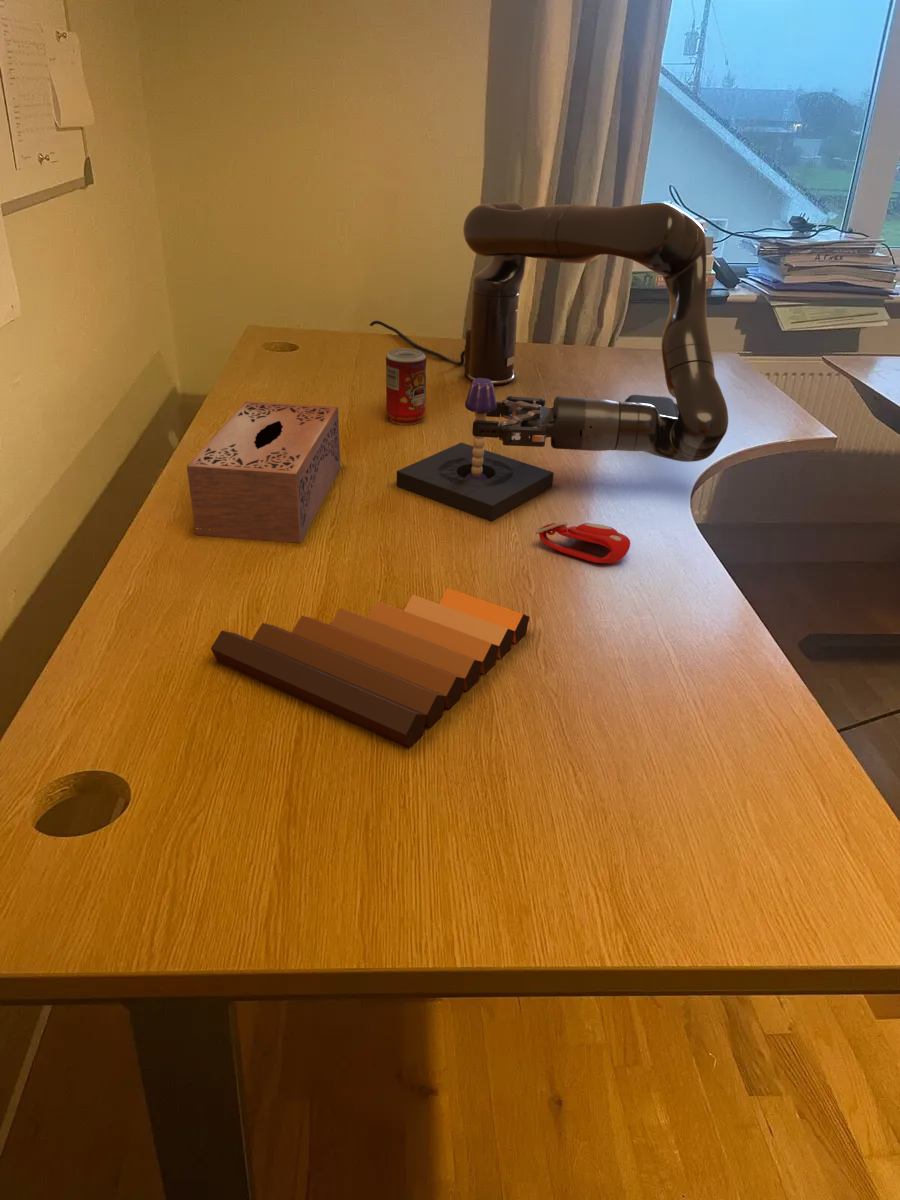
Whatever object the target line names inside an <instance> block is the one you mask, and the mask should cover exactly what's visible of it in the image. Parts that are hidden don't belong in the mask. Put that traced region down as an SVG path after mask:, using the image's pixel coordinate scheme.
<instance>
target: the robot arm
mask: <svg viewBox="0 0 900 1200" xmlns="http://www.w3.org/2000/svg"><path fill="white" fill-rule="evenodd" d="M462 231H463V232H462V234H463V237H464V240H465V243H466V245H467V246H468V248H469V249H470V250H471V251H473V253H475V254H476V255H478V256H481V257H492V258H491V260H490V261H489V263H487V265H486V266H485V267H484V268H482V270H480V271H479V272H477V273H476V274H474V276H473V277H472V280H471V281H472V282H471V303H470V304H471V306H470V307H471V308H470V309H471V310H470V327H469V328H467V329H466V330H465V345H464V350H463V351H462V352H461V353H460V361H459V362H458V361H454V360H452V359H450V358H448V357H447V356H444V355H443V354H441V353H439V352H436V351H434V350H431V349H429V348H426V347H423V346H421V345H419V344H417V343H415V342H414V341H412V340H411V339H410V338H409V337H408V336H406V335H405V334H404V333H403V332H400V330H398V329H396V328H395V327H393V326H391V325H388V324H387V323H385V322H383V321H381V320H373V321H372V322H370V324H369V326H370V327H373V326H374V325H381V326H382V327H384V328H386V329H388V330H390V331H392V332H394V333H396V334H397V335H398V336H399V337H400V338H402V339H403V340H404V341H406V342H407V343H408V344H409V345H411V346H412V347H414V348H415V349H417V350H420V351H421V352H425V353H427V354H430V355H433V356H435V357H438V358H440V359H442V360H443V361H445V362H448V363H451V364H455V365H457V366H463V365H464V370H463V371H464V373H463V376H464V377H465V378H468V380H469V381H471V382H472V381H473V380H474V379H477V378H486V379H489V380H491V381H492V383H493V386H497V385H498V386H500V385H506V384H509V383H511V382H513V381H514V377H515V375H514V374H515V373H514V372H515V364H516V343H517V328H518V313H519V298H520V287H521V283H522V281H523V279H524V275H525V270H526V269H525V268H526V260H527V258H532V259H536V260H537V259H538V260H544V261H549V262H555V263H564V264H573V265H574V264H577V265H578V264H579V265H581V264H587V263H590V262H592V261H594V260H596V259H598V258H599V257H601V256H604V255H605V256H606V255H607V256H612V257H620V258H623V259H627V260H631V261H633V262H635V263H638V264H639V265H641V266H643V267H645V268H646V269H649V270H651V271H652V272H654V273H656V274H658V275H660V276H662V278H663V281H664V283H665V287H666V290H667V293H668V297H669V311H668V312H669V313H668V316H667V319H666V321H665V324H664V328H663V332H662V336H661V357H662V364H663V370H664V378H665V384H666V388H667V391H668V393H669V394H670V396H671V397H673V398H674V399H675V401H676V402H675V403H676V404H677V407H678V418H675V417H669V416H664V415H660V414H659V413H658V410H657V408H656V407H655V406H653V405H651V404H646V403H636V402H625V401H617V400H611V399H605V398H597V397H595V398H594V397H593V398H592V397H576V396H560V395H559V396H556V397H555V398H554V400H553V403H552V404H553V406H552V407H547V406H546V399H545V398H542V397H541V398H540V397H538V398H537V397H525V396H512V395H509V396H506V399H502V400H501V401H496V403H497V408H496V410H494V411H493V412H488V413H487V415H486V417H487V418H504V419H506V420H503V421H498V420H486V421H483V420H475V419H474V420H473V422H472V430H471V431H472V432H471V433H472V436H473V437H475V436H476V437H484V438H496V439H498V440H499V441H502V445H503V446H506V447H507V446H508V447H509V446H510V447H532V448H533V447H535V448H536V447H537V448H542V447H545V446H546V440H547V438H550V446H551V448H552V449H556V450H570V451H571V450H573V451H588V452H589V451H590V452H591V451H592V452H605V451H620V452H643V453H646V454H650V455H653V456H655V457H659V458H664V459H668V460H671V461H676V462H682V463H683V462H684V463H694V462H695V463H696V462H700V461H703V460H706V459H708V458H709V457H711V456H712V455H713V454H714V452H715V451H716V450H717V448H718V447H719V445H720V443H721V442H722V440H723V438H724V437H725V436H726V433H727V431H728V427H729V412H728V411H729V410H728V406H727V403H726V399H725V397H724V394H723V392H722V390H721V386H720V384H719V382H718V380H717V378H716V375H715V373H716V372H715V366H714V360H713V354H712V348H711V341H710V337H709V329H708V319H707V317H708V316H707V241H706V240H707V238H706V233H705V230H704V228H703V226H702V225H701V224H700V223H699V222H698V221H697V220H696V219H695V218H693V217H692V216H690V215H689V214H688V213H686V212H685V211H683V210H681V209H680V208H678V207H677V206H675V205H672V204H670V203H667V202H646V203H641V204H632V205H625V206H624V205H623V206H604V205H584V204H566V203H565V204H551V205H543V206H535V207H529V208H524V207H523V206H522V205H521V204H520V203H518V202H515V201H503V202H502V201H501V202H489V203H488V202H487V203H481V204H478V205H477V206H475V207H473V208H472V209H471V210H470V211H469V212H468V214H467V215H466V217H465V219H464V221H463V228H462ZM486 417H485V418H486Z"/></svg>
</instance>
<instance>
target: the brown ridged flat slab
mask: <svg viewBox="0 0 900 1200" xmlns="http://www.w3.org/2000/svg"><path fill="white" fill-rule="evenodd" d="M530 618H531V617H530V616H529V615H526V614H524V613H521V612H518V611H515V610H513V609H509V608H506V607H504V606H501V605H499V604H495V603H493V602H490V601H486V600H483V599H481V598H478V597H475V596H472V595H470V594H466V593H463V592H460V591H458V590H455V589H452V588H449V587H447V588H446V590H445V592H444V593H443V596H442V597H441V599H440V601H439V603H437V602H435V601H433V600H429V599H427V598H423V597H421V596H418V595H416V594H412V595H411V596H410V598H409V601H408V603H406V606H405V608H404V610H403V609H400V608H398V607H394V606H392V605H390V604H387V603H383V602H381V601H376V602H375V603H374V605H373V607H372V609H371V611H370V613H369V614H368V616H365V615H361V614H359V613H356V612H353V611H350V610H347V609H344V608H341V607H340V608H339V609H338V610H337V612H336V614H335V615H334V617H333V619H332V621H331V623H330V624H328V623H326V622H323V621H321V620H319V619H316V618H313V617H310V616H306V615H301V616H300V617H299V619H298V620H297V622H296V624H295V626H294V628H293V629H292V631H289V630H286V629H284V628H282V627H280V626H277V625H274V624H269V623H265V622H261V624H260V626H259V627H258V629H257V631H256V632H255V634H254V636H253V637H252V639H250V638H247V637H245V636H242V635H240V634H238V633H236V632H231V631H227V630H221V631H219V634H218V636H217V637H216V639H215V640H214V642H213V644H212V646H211V647H210V650H211V651H212V654H213V655H214V657H215V660H216V662H218V663H220V664H222V665H224V666H227V667H229V668H231V669H233V670H235V671H238V672H240V673H242V674H245V675H246V676H249V677H251V678H252V679H253V678H254V679H255V680H258V681H260V682H262V683H265V684H267V685H269V686H271V687H273V688H275V689H278V690H280V691H282V692H284V693H287V694H289V695H291V696H294V697H296V698H298V699H300V700H302V701H304V702H306V703H309V704H311V705H313V706H315V707H318V708H319V709H323V710H324V711H327V712H329V713H331V714H334V715H336V716H338V717H340V718H342V719H345V720H346V721H349V722H350V723H353V724H356V725H357V726H360V727H362V728H364V729H367V730H368V731H371V732H372V733H375V734H378V735H379V736H382V737H384V738H386V739H389V740H391V741H394V742H396V743H398V744H399V745H402V746H404V747H407V748H408V749H410V748H412V747H413V746H414V744H416V743H417V742H418V741H419V740H420V739H421V738H422V737H423V735H424V731H425V727H427V728H429V729H431V728H432V727H433V726H434V725H435V724H436V723H437V722H438V721H439V720H440V719H441V718H442V717H443V715H444V709H448V710H451V708H452V707H453V706H455V705H456V703H458V702H459V701H460V700H461V699H462V695H463V691H465V692H469V691H470V690H471V689H473V687H474V686H475V685H476V684H477V683H478V682H479V679H480V675H481V674H482V675H487V673H489V672H490V670H492V668H494V666H495V665H496V662H497V658H498V659H500V660H501V659H503V657H505V656H506V655H507V654H508V653H509V652H510V651H511V650H512V645H513V644H516V645H517V644H518V643H519V642H520V641H521V640H522V639H523V638H524V637H525V636H526V635H527V630H528V626H529V621H530Z"/></svg>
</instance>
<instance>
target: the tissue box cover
mask: <svg viewBox="0 0 900 1200" xmlns="http://www.w3.org/2000/svg"><path fill="white" fill-rule="evenodd" d="M340 449H341V448H340V419H339V406H329V405H327V406H326V405H314V404H313V405H312V404H296V403H285V402H284V403H283V402H282V403H281V402H267V401H252V400H245V401H244V402H243V403H242V405H241V406H240V407H239V408H237V410H235V412H234V413H233V414H232V415H231V417H230V418H229V419H228V420H227V421H226V422H225V423H224V425H222V426H221V428H220V429H219V430H218V431H217V432H216V433H215V435H213V436H212V437H211V439H209V441H207V443H206V444H205V445H204V447H202V448H201V450H200V451H199V452H198V453H197V454H196V455H195V456H194V457H193V459H192V460H191V461H190V462H189V463H187V465H186V473H187V479H188V487H189V493H190V495H189V496H190V501H191V509H192V510H191V511H192V516H193V523H194V532H195V536H203V537H217V538H227V539H228V538H229V539H230V538H231V539H243V540H257V541H269V542H270V541H271V542H282V543H295V544H301V543H302V541H303V539H304V537H305V536H306V534H307V532H308V530H309V528H310V526H311V524H312V522H313V520H314V519H315V517H316V515H317V513H318V511H319V509H320V507H321V505H322V503H323V502H324V500H325V498H326V496H327V494H328V492H329V490H330V488H331V486H332V484H333V483H334V480H335V479H336V477H337V475H338V473H339V471H340V469H341V453H340V452H341V451H340ZM196 528H199V529H196ZM200 528H201V529H200ZM209 529H210V530H209Z"/></svg>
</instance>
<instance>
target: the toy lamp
mask: <svg viewBox="0 0 900 1200" xmlns="http://www.w3.org/2000/svg"><path fill="white" fill-rule="evenodd" d="M494 386H495V385H493V383H492V381H491V380H489V379H486V378H477V379H474V380H473V381H471V384H470V387H469V389H468V391H467V392H468V393H467V395H466V398H465V403H464V407H465V408H466V409H467V410H468V411H469V412H471V413H474V416H475V418H474V421H475V420H483V421H487V419H486V415H487V413H488V412H493V411H494V410H496V408H497V403H496V402H497V398H496V393H495V387H494ZM472 443H473V446H474V448H473V458H472V465H473V466H472V468H471V473H470V474H468V475H467V476H466V477H465V478H466V479H472V480H484V479H488V477H487V476H486V475H484V474H482V471H483V468H482V464H483V455H484V450H485V448H484V447H485V444H486V437H476V436H474V438H473V441H472Z"/></svg>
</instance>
